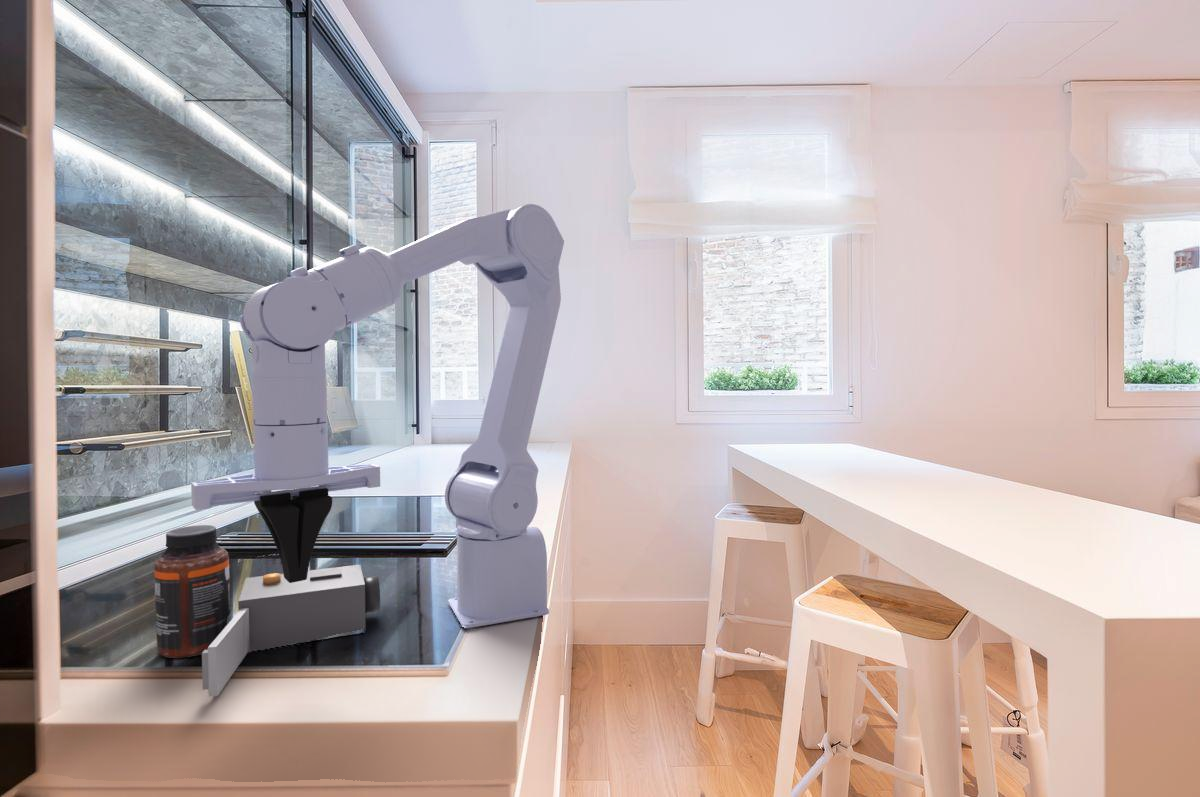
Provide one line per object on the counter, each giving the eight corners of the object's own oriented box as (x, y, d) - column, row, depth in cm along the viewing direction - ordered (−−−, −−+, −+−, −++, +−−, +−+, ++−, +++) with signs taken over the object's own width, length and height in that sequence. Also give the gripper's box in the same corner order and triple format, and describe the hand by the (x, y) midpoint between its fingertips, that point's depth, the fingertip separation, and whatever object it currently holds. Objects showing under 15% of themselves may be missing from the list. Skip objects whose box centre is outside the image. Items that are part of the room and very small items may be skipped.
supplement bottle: (245, 635, 61) (243, 522, 61) (201, 663, 56) (198, 539, 55) (189, 632, 62) (187, 521, 62) (140, 659, 56) (136, 536, 56)
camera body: (376, 606, 69) (376, 557, 69) (383, 630, 63) (382, 576, 62) (246, 625, 64) (245, 572, 63) (239, 653, 57) (238, 594, 57)
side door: (218, 695, 49) (217, 646, 49) (201, 697, 49) (200, 648, 49) (250, 649, 57) (250, 607, 57) (236, 650, 57) (235, 608, 57)
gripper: (360, 415, 61) (363, 551, 61) (184, 424, 51) (189, 585, 52) (387, 420, 55) (390, 569, 56) (196, 431, 46) (202, 610, 47)
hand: (295, 578), depth 54 cm, fingers closed
